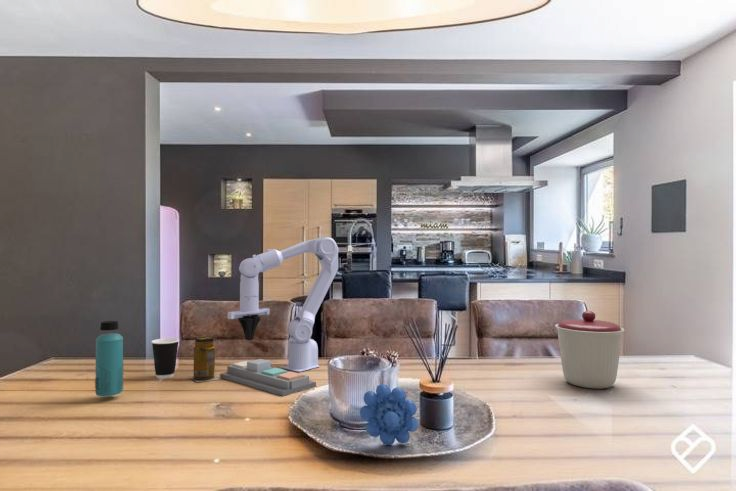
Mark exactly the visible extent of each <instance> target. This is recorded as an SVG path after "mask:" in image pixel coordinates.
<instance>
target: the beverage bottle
mask: <svg viewBox="0 0 736 491" xmlns="http://www.w3.org/2000/svg"><path fill="white" fill-rule="evenodd" d="M99 329H100V331H116V330H119V321H118V320H106V321H101V322H100V328H99ZM123 340H124V337H123V335H121V334H120V333H116V332H115V333H114V332H110V333H103V334H100V335H99V336H98V337H96V339H95V366H94V369H95V370H94V372H95V373H94V374H95V377H94V391H95V394H96V396H97V397H111V396H115V395H116V396H117V395H119V394H121V393H122V392H123V391H124V388H125V387H124V347H123V346H124V341H123Z"/></svg>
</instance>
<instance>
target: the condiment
mask: <svg viewBox="0 0 736 491" xmlns="http://www.w3.org/2000/svg"><path fill="white" fill-rule="evenodd" d="M214 339H215V338H214V337H212V336H199V337H196V338H195V341H194V342H195V343H194V348H193V375H189V376H187V377H188V378H189V379H190V380H193V381H194V382H196V383H204V382H210V381H218V380H221V379H222V378H220V376H217V375H215V372H216V371H215V370H216V369H215V367H216V366H215V365H216V357H215V355H216V347H215V346H214V344H215V343H214Z"/></svg>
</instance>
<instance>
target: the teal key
mask: <svg viewBox="0 0 736 491" xmlns="http://www.w3.org/2000/svg"><path fill="white" fill-rule="evenodd" d="M287 371H288V369H283V368H279V367H278V368H277V367H274V368H272V369H268V370H264V371H262V374H265V375H269V376H277V375H280V374H284V373H287Z"/></svg>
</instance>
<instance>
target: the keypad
mask: <svg viewBox="0 0 736 491" xmlns="http://www.w3.org/2000/svg"><path fill="white" fill-rule="evenodd" d="M233 364H234V363H232V364H229V365H227V367H226V368H227V369H226V370H227V372H226V371H225V372H223V373H220V374H219V378H221V379H223V380H227V381H231V382H233V383H236V384H241V385H243V386H247V387H251V388H254V389H257V390H261V391H263V392H268V393H270V394H274V395H277V396H281V397H285V396H288V395H292V394H294V393H295V394H296V393H299V392H302V391H304V390H308V389H312V388H315V387H317V382H316V381H313V380H310V376H309V375H307V374H303V377H302V378H298V379H294V380H291V381H288V380H284V379H280V378H278V375H277V376H269V375H265V374H262V371H261V372H254V371H250V370H247V368H243V369H242V368H238V367H235V366H233ZM272 368H275V367H272V366H271V369H272ZM288 372H291V370H287V373H288Z"/></svg>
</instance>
